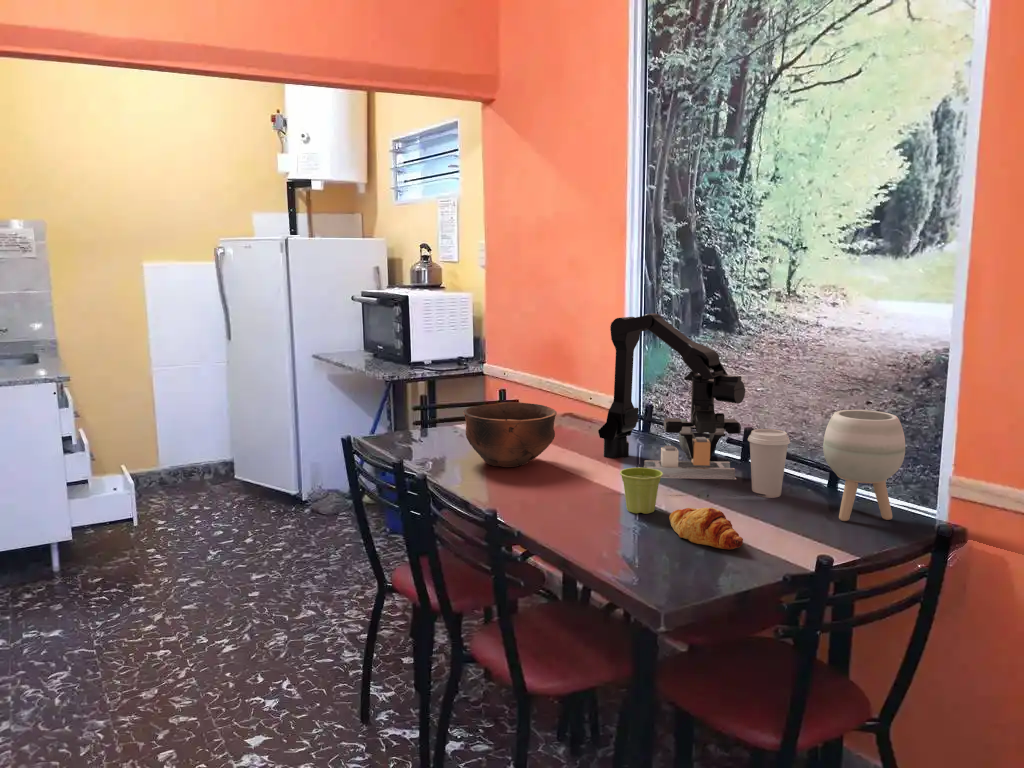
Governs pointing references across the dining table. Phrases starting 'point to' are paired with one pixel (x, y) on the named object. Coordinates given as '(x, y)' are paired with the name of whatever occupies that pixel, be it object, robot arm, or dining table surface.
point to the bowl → (509, 431)
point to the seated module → (669, 456)
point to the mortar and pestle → (694, 435)
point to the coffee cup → (768, 461)
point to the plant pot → (641, 488)
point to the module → (701, 451)
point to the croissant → (705, 527)
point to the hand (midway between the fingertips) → (700, 458)
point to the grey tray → (694, 470)
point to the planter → (864, 453)
